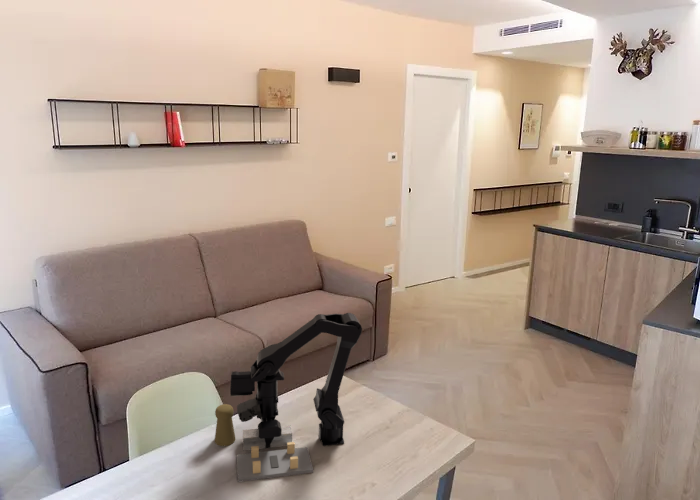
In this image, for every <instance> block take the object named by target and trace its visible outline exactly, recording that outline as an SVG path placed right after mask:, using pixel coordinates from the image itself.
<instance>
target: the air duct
mask: <svg viewBox="0 0 700 500" xmlns="http://www.w3.org/2000/svg"><path fill="white" fill-rule="evenodd" d="M281 429H282V435H281V436H280V437H274V439H273V441H272V442H271V444H270V445H268V446H266V443H265V438H262V439H261V438H259V435H258V428H251V429H250V428H249V429H242V451H251V447H252V446H259V450H261V449H270V448H277V447H279V448H280V447H287V443H289V442H293V430H292V426H291V425H281Z"/></svg>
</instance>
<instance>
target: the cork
mask: <svg viewBox="0 0 700 500" xmlns="http://www.w3.org/2000/svg"><path fill="white" fill-rule="evenodd" d="M214 412H215V413H214V415H215V418H216V426H215V434H214V444H215V445H217V446H219V447H228V446H231V445H233V444H234V443H235V441H236V434H235V429H234V423H233V422H234V421H233V415H234V407H233V406H232V405H231V404H227V403H222V404H220V405H218V406H217V407H216V409H215V411H214Z"/></svg>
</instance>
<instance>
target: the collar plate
mask: <svg viewBox="0 0 700 500" xmlns="http://www.w3.org/2000/svg"><path fill="white" fill-rule="evenodd" d="M295 445H296V443H295V442H294V441H292V442H289V443H287V446H286V448H285V449H276V450H268V451H259V450H260V449H259V446H252V447H251V450H250V453H241V454H236V473H237V483H238V482H239V483H240V482H248V481H256V480H265V479H271V478H279V477H286V476H288V477H289V476H295V475H304V474H312V473H314V468H313V463H312V459H311V456H310V452H309V447H308V446H303V447H296V446H295Z"/></svg>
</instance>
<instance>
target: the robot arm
mask: <svg viewBox="0 0 700 500" xmlns="http://www.w3.org/2000/svg"><path fill="white" fill-rule="evenodd" d="M362 333H363V327H362V325H361V322H360V321H359V319H358V316H357V315H355V314H354V313H351V312H346V313H332V314H331V313H330V314H324V313H319V314H316V315H314V317H313V318H312V319H311V320H309V321H308V322H306V323H305V324H304V325H302V326H301V327H300V328H299V329H297V330H296V331H294V332H293V333H291V334H290V335H289V336H287V337H286V338H285V339H283V340H282V341H280V342H278V343H274V344H271V345H269V346H266V347H264V348H262V349H261V350H259V351H258V352H257V356H256V360H255V361H254V362H253V363H252V364H251V366H250V371H249V370H248V371H231V373H230V390H229V391H230V397H242V396H243V397H244V396H251V395H253V392H255V391H256V393H255V397H254V398H252V399H248V400H246V401H243V402H240V403H238V404H237V406H236V412H237V413H236V414H237V415H238V419H239V421H240V422H242V423H243V422H245V423H246V422H249V421H251V420H252V419H253V418H254V417H256V419H260V421H259V423H258V424H257V429H258V435H259V438H261V439H262V438H265V443H266V446H268V445H270V444H271V442H272V441H273V439H274V437H280V436H281V435H282V429H281V426H282V425H281V422H280V421H279V420H278V419H276V417H278V416H279V410H278V403H279V397H278V381H279V382H280V381H284V380H285V374H284V372H283V371H281V370H280V369H281V368H282V367H283V366H284V364H285V363H286V361H287V359H289V358H290V357H291V356H292V355H293V354H294V353H296V352H298V350H300V349H301V348H302V347H305V345H307V344H308V343H309V342H311V341H312V340H314V339H315V338H316V337H318V336H319V335H320V334H328V335H331V336H335V337H337V341H336V345H335V349H334V353H333V356H332V360H331V363H330V366H329V369H328V374H327V376H326V381H325V384H324V385H323V387H322V388H321V389H320V388H316V392H315V393H316V394H315V396H314V397H313V405H314V407H315V411H316V414H317V418H318V419H319V421H320V422H319V423H318V438H319V441H320V442H321V444H322V446H325V447H326V446H331V445H332V446H334V445H343V444H345V440H344V425H345V419H344V416H343V414H342V413H343V412H342V410H341V406H340V405H339V391H340V389H341V384H342V382H343V378H344V374H345V371H346V368H347V364H348V361H349V359H350V355H351V351H352V349H353V348H354V347H355V346H356V344H357V343H358V341H359V339H360V337H361V335H362ZM255 384H256V385H255ZM255 386H256V387H255ZM255 388H256V389H255Z"/></svg>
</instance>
